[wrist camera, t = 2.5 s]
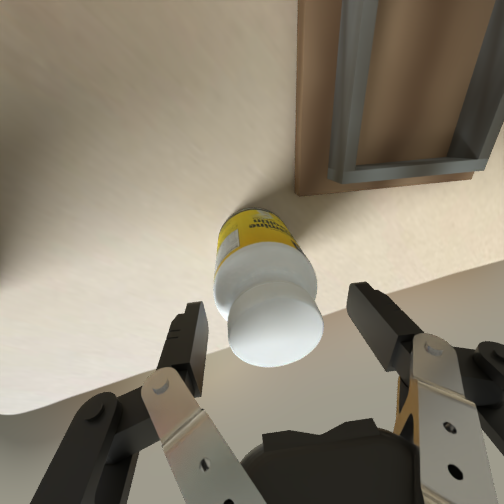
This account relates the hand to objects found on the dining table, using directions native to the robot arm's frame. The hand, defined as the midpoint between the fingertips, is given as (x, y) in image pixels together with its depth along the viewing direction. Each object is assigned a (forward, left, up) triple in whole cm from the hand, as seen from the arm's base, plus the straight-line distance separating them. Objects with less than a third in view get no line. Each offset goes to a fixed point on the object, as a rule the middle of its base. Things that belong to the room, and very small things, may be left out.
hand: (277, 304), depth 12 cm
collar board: (+11, +11, -10) cm, 18 cm away
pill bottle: (0, 0, -10) cm, 10 cm away
